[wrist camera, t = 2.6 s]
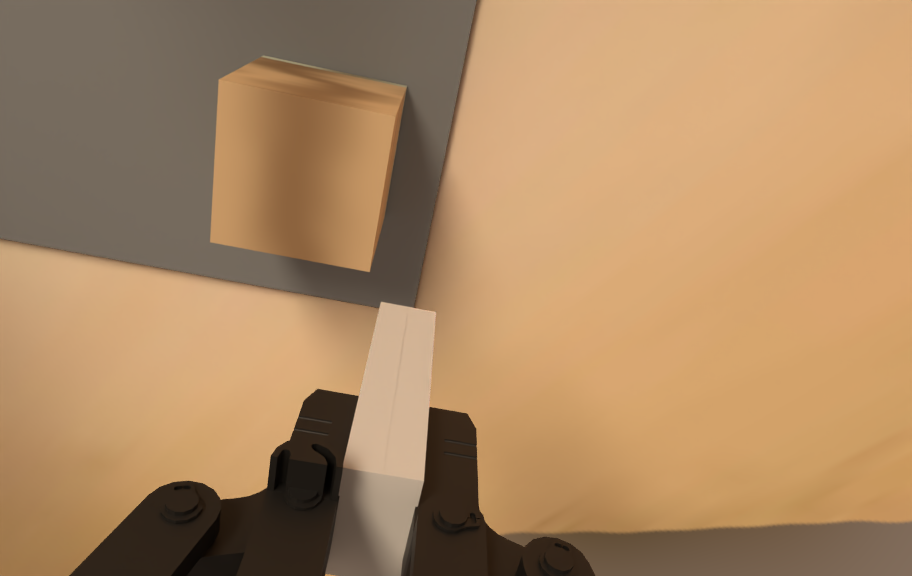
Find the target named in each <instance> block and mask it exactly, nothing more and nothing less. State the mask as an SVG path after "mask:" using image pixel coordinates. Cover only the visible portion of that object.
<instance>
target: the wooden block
mask: <svg viewBox="0 0 912 576" xmlns="http://www.w3.org/2000/svg"><path fill="white" fill-rule="evenodd" d="M406 89H407V86H405V85H400V84H396V83H391V82H386V81H382V80H377V79H372V78H367V77H363V76H358V75H353V74H349V73H344V72H339V71H335V70H330V69H325V68H320V67H316V66H311V65H306V64H302V63H297V62H292V61H288V60H283V59H278V58H273V57H269V56H262V57H260V58H258V59H256V60H254V61H252V62H250V63H249V64H247V65H245V66H243V67H241V68H239V69H237V70H236V71H234V72H232V73H230V74H228V75H226V76H224V77H223V78H221V79H219V84H218V103H217V121H216V140H215V159H214V178H213V197H212V215H211V234H210V242H212V243H217V244H222V245H228V246H233V247H238V248H244V249H249V250H254V251H260V252H265V253H270V254H276V255H281V256H286V257H292V258H297V259H302V260H308V261H313V262H318V263H324V264H329V265H334V266H340V267H345V268H350V269H356V270H361V271H366V272H370V269H371V265H372V261H373V258H374V254H375V250H376V247H377V243H378V239H379V236H380V232H381V229H382V225H383V221H384V217H385V212H386V206H387V200H388V194H389V188H390V183H391V177H392V171H393V165H394V159H395V153H396V148H397V142H398V136H399V130H400V124H401V118H402V113H403V107H404V101H405V95H406Z"/></svg>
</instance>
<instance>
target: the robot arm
mask: <svg viewBox="0 0 912 576" xmlns="http://www.w3.org/2000/svg"><path fill="white" fill-rule="evenodd" d="M435 319H436V312H433V311H428V310H423V309H417V308H412V307H407V306H401V305H396V304H391V303H385V302H381V303H380V308H379V312H378V316H377V321H376V325H375V329H374V333H373V338H372V342H371V346H370V351H369V355H368V359H367V363H366V368H365V372H364V376H363V381H362V385H361V389H360V394H359V396H355V395H349V394H343V393H338V392H332V391H326V390H321V389H317V390H316V391H315V392H314V393H312V394H311V395H310V396H309V397H308V398H306V399H305V400H304V402H303V405H302V408H301V411H300V413H299V417H298V419H297V422H296V425H295V428H294V431H293V433H292V436H291V439H290V441H287V442H285V443H283V444H282V445H280V446H278V447H277V448H276V449H275V451H274V452H273V454H272V455H271V459H270V468H269V477H268V486H267V488H266V489H264V490H263V491H261V492H259V493H256V494H254V495H251V496H247V497H242V498H235V499H223V500H220V498H219V496H218V495H217V493H216V492H215V491H214V489H212V488H210V487H208V486H207V485H205V484H203V483H198V482H193V481H181V482H173V483H170V484H167V485H164V486H161V487H159V488H158V489H156V490H155V491H153V492H152V493H151V494H149V495H148V496H147V497H146V498H145V499H144V500H143V501H142V502H141V503H140V504H139V505H138V506H137V507H136V508H135V509H134V510H133V511H132V512H131V513H130V514H129V515H128V516H127V517H126V518H125V519H124V520H123V521H122V522H121V524H120V525H119V526H118V527H117V528H116V529H115V530H114V531H113V532H112V533H111V534H110V535H109V536H108V537H107V538H106V539H105V540H104V541H103V542H102V543H101V544H100V545H99V546H98V547H97V548H96V549H95V550H94V551H93V552H92V553H91V554H90V555H89V556H88V557H87V558H86V559H85V560H84V561H83V562H82V563H81V564H80V565H79V566H78V567H77V568H76V569H75V570H74V571H73V573H72V574H71V575H70V576H325V574H331V575H338V576H595V574H594V572H593V570H592V568H591V566H590V564H589V562H588V561H587V560H586V558H585V557H584V556H583V554H582V553H581V552H580V551H579V550H578V549H576V548H575V547H574V546H573V545H571V544H569V543H567V542H565V541H562V540H560V539H558V538H550V537H542V538H537V539H533V540H532V541H531V542H530V543H528V544H527V545H526V546H525V547H523V546H521V545H519V544H516V543H514V542H512V541H509V540H507V539H506V538H504V537H502V536H500V535H498V534H497V533H496V532H495V531H493V530H492V529H491V528H490V527H489V526H488V525H487V524H486V522H485V520H484V517H483V514H482V513H481V512H480V510H479V504H478V471H477V447H476V445H477V438H476V428H475V426H474V424H473V423H472V421H471V419H470V418H469V416H468V414H466V413H461V412H455V411H449V410H443V409H438V408H432V407H429V403H430V389H431V375H432V361H433V347H434V333H435Z"/></svg>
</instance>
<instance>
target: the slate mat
mask: <svg viewBox="0 0 912 576" xmlns="http://www.w3.org/2000/svg"><path fill="white" fill-rule="evenodd" d="M476 1H477V0H0V239H5V240H11V241H16V242H22V243H27V244H33V245H38V246H43V247H49V248H54V249H60V250H65V251H71V252H76V253H82V254H87V255H93V256H98V257H104V258H109V259H114V260H120V261H125V262H131V263H136V264H142V265H147V266H153V267H158V268H164V269H169V270H175V271H180V272H185V273H191V274H196V275H202V276H207V277H213V278H218V279H224V280H229V281H235V282H240V283H246V284H251V285H256V286H262V287H267V288H273V289H278V290H284V291H289V292H295V293H300V294H306V295H311V296H317V297H322V298H327V299H333V300H338V301H344V302H349V303H355V304H360V305H366V306H371V307H377V308H380V303H381V302H385V303H391V304H396V305H401V306H407V307H412V308H414V304H415V299H416V295H417V290H418V285H419V280H420V275H421V270H422V265H423V260H424V255H425V251H426V246H427V241H428V236H429V231H430V226H431V221H432V216H433V211H434V206H435V202H436V197H437V192H438V187H439V182H440V177H441V172H442V167H443V162H444V158H445V153H446V148H447V143H448V138H449V133H450V128H451V123H452V118H453V113H454V109H455V104H456V99H457V94H458V89H459V84H460V79H461V74H462V69H463V65H464V60H465V55H466V50H467V45H468V40H469V35H470V30H471V25H472V20H473V16H474V11H475V6H476ZM262 56H269V57H273V58H278V59H283V60H288V61H292V62H297V63H302V64H306V65H311V66H316V67H320V68H325V69H330V70H335V71H339V72H344V73H349V74H353V75H358V76H363V77H367V78H372V79H377V80H382V81H386V82H391V83H396V84H400V85H405V86H407V89H406V95H405V101H404V107H403V113H402V118H401V124H400V130H399V136H398V142H397V148H396V153H395V159H394V165H393V171H392V177H391V183H390V188H389V194H388V200H387V206H386V212H385V217H384V221H383V225H382V229H381V232H380V236H379V239H378V243H377V247H376V250H375V254H374V258H373V261H372V265H371V269H370V272H366V271H361V270H356V269H350V268H345V267H340V266H334V265H329V264H324V263H318V262H313V261H308V260H302V259H297V258H292V257H286V256H281V255H276V254H270V253H265V252H260V251H254V250H249V249H244V248H238V247H233V246H228V245H222V244H217V243H212V242H210V234H211V215H212V197H213V178H214V159H215V140H216V121H217V103H218V84H219V79H221V78H223V77H224V76H226V75H228V74H230V73H232V72H234V71H236V70H237V69H239V68H241V67H243V66H245V65H247V64H249V63H250V62H252V61H254V60H256V59H258V58H260V57H262Z"/></svg>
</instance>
